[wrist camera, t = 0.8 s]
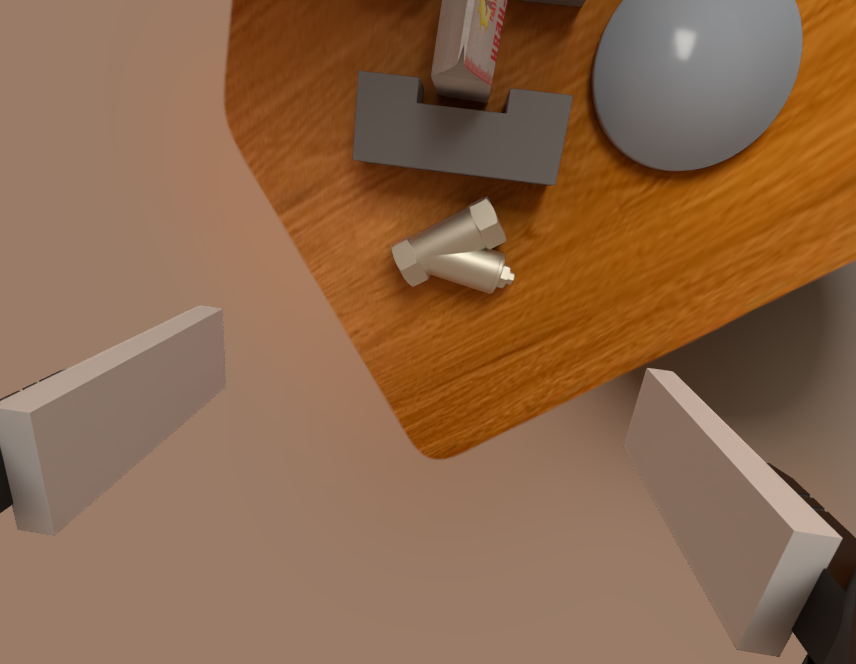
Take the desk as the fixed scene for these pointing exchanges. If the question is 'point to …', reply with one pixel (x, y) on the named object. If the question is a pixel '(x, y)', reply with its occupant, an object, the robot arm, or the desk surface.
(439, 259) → the pipe fitting
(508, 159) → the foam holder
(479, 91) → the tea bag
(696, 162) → the blue-grey round plate
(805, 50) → the desk surface
